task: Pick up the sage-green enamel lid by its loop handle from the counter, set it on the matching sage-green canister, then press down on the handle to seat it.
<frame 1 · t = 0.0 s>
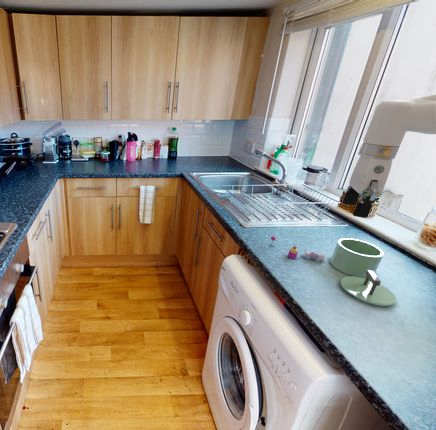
hand: (353, 210, 83), 27 cm above the worktop, tool pointing down, fingers open, 9 cm apart
candies: (294, 255, 111), on the worktop
canister: (351, 267, 103), on the worktop
lid: (366, 290, 91), point 1 cm above the worktop
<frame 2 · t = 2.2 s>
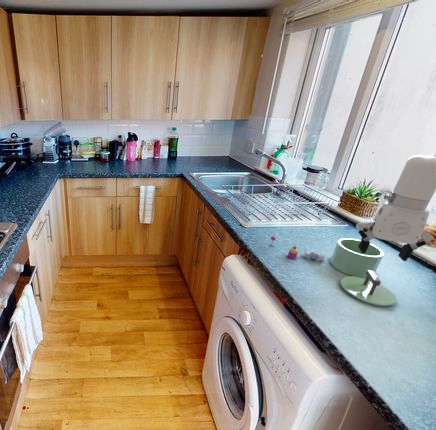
hand: (381, 254, 85), 14 cm above the worktop, tool pointing down, fingers open, 9 cm apart
nothing on the worktop moved.
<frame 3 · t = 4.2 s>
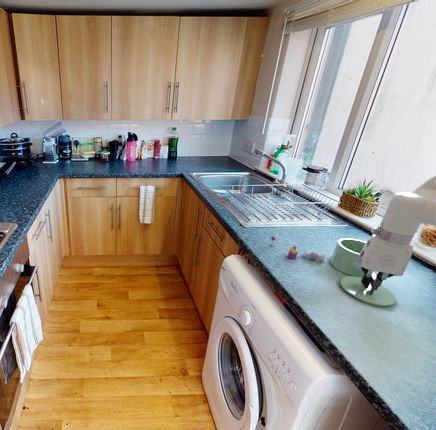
hand: (368, 286, 90), 2 cm above the worktop, tool pointing down, fingers closed on lid
lid: (366, 290, 91), point 1 cm above the worktop, touching gripper
everything else where it was.
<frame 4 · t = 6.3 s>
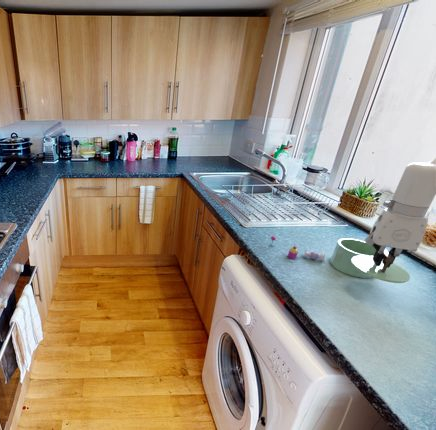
hand: (380, 263, 86), 11 cm above the worktop, tool pointing down, fingers closed on lid
lid: (378, 269, 87), point 9 cm above the worktop, touching gripper
everything else where it was.
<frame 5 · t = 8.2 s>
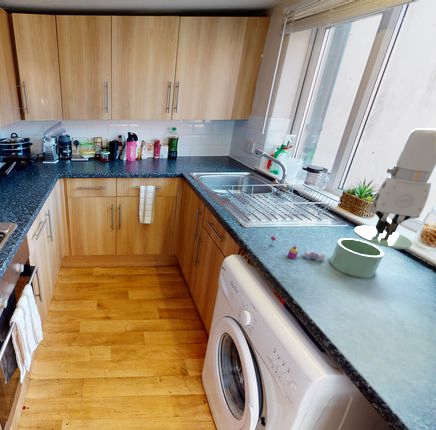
hand: (383, 232, 88), 19 cm above the worktop, tool pointing down, fingers closed on lid
lid: (381, 237, 88), point 17 cm above the worktop, touching gripper
everything else where it was.
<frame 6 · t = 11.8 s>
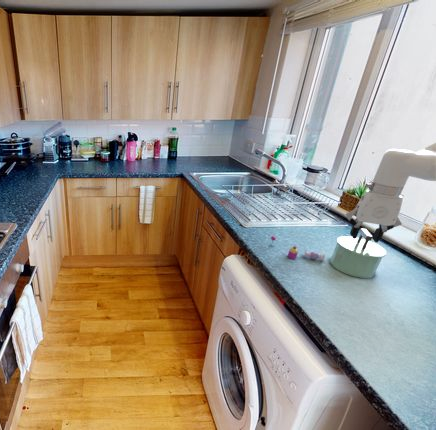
hand: (363, 238, 98), 12 cm above the worktop, tool pointing down, fingers open, 5 cm apart
lid: (360, 247, 100), point 8 cm above the worktop, touching canister
everything else where it was.
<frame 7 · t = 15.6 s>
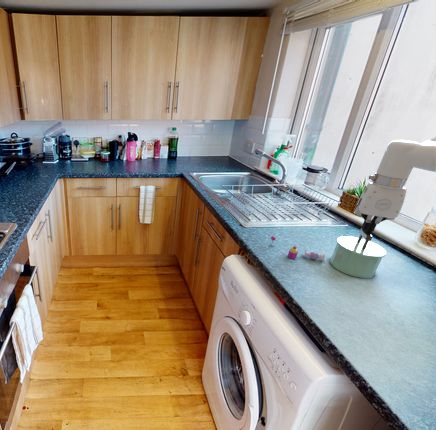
hand: (366, 232, 98), 14 cm above the worktop, tool pointing down, fingers closed
lid: (360, 247, 100), point 8 cm above the worktop, touching canister, gripper
everything else where it was.
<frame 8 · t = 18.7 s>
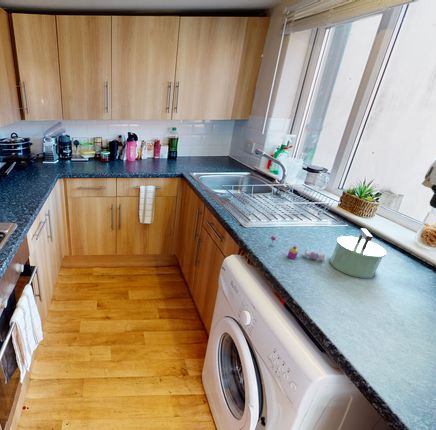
hand: (435, 207, 86), 27 cm above the worktop, tool pointing down, fingers closed
lid: (360, 247, 100), point 8 cm above the worktop, touching canister
everything else where it was.
at the end: lid 0.0 cm off-centre on the canister, point 8.5 cm above the canister's base; lid tilted 0°; the gripper is holding nothing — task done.
